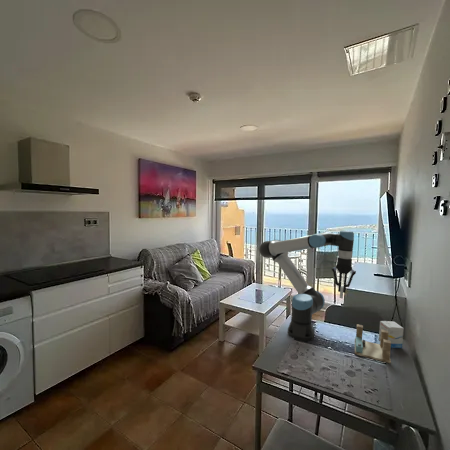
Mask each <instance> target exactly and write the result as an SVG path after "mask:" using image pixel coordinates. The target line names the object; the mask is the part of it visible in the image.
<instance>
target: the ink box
mask: <svg viewBox="0 0 450 450" xmlns="http://www.w3.org/2000/svg"><path fill="white" fill-rule="evenodd" d="M381 329H382V330H387V331H388V340H389V341H391V349H403V342H404V340H403V338H404V327H403V326H401V325H400V324H398V323H397V322H396V321H391V320H389V321H388V320H380V321H379V332H378V333H379V334H378V341H379V342H380V338H381Z"/></svg>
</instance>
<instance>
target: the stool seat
mask: <svg viewBox="0 0 450 450" xmlns="http://www.w3.org/2000/svg"><path fill="white" fill-rule="evenodd" d="M363 329H364V325H362V324H356V334H355V338H356V337H360V338H362V344H363V353H360V352H356V345H355V344H354V355H357V356H361V357H365V358H368V359H373V360H376V361H380V362H383V363H388V364H391V363H392V361H391V349H392V348H391V341H389V340H388V331H387V330H382V329H381V338H380V341H379V343H376V342H371V341H367V340H366V339H363Z"/></svg>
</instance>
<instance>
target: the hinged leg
mask: <svg viewBox="0 0 450 450" xmlns="http://www.w3.org/2000/svg"><path fill="white" fill-rule="evenodd" d="M362 340H363V337H362V338H360V337H356V336H355V338H354V346H355V345H356V352H360V353H363V344H362Z"/></svg>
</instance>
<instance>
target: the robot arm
mask: <svg viewBox="0 0 450 450" xmlns="http://www.w3.org/2000/svg"><path fill="white" fill-rule="evenodd" d="M354 242H355V232H353V231H351V230H340V231H339V233H336V232H328V231H319V233H314V234H310V235H305V236H301V237H300V236H299V237H295V238H290V239H285V240H281V239H273V240H266V241H263V242H262V243H261V244H260V245H259V247H258V252H259V254H260V256H262V257H263V258H265V259H272V261H273V262H274V263H277V264H278V266H279V267H280V269H281V270H282V272H283V273H284V275H285V276H286V277H287V279H288V281H289V282H290V284H291V286H293V288H294V289H295V291H296V292H297V294H295V295H294V296H293V297H292V298H291V299H292V300H291V314H290V315H291V318H290V323H289V325H288V328H287V335H288V336H289V338H291V339H294V340H296V341H300V342H309V341H312V340H314V337H315V333H314V329H313V324H312V323H313V321H312V320H313V319H312V318H313V315H314V314H315V313H318V312H319V311H321V310H322V309H323V308H324V306H325V303H326V302H325V297H324V295H323V293H321V292H320V291H317V290H316V289H315V288H314V286H311V285H309V284H308V282H307V281H306V280H305V278H304V277H303V274H301V273H300V270H299V269H298V268H297V267H296V265H295V264H294V262H293V260H291V258H290V256H289V253H291V252H297V251H298V252H299V251H303V250H308V249H319V248H322V247H327V246H332V247H338V249H337V260H336V261H337V262H336V265H335V266H334V267H332V268H331V271H332V273H333V279H334V285H336V286H337V291H338V292H339V298H340V299H343V298H344V294H345V293H346V290H347V288H349V287H350V285H351V283H352V280H353V277H354V276H355V275H356V274H357V273H356V272H357V271H356V270H354V269H353V267H352V265H353V262H352V261H353V254H354V253H353V252H354V251H353V250H354V244H355V243H354ZM337 272H338V273H339V276H338V275H337V274H338V273H337ZM348 274H350V276H349V279H347V278H348ZM343 276H344V277H343ZM347 280H348V282H347ZM342 281H343V285H342Z"/></svg>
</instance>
